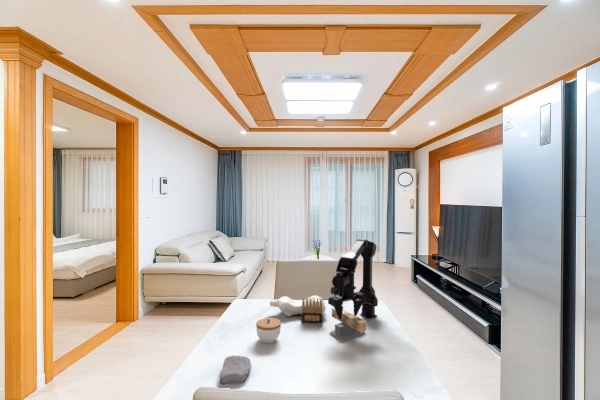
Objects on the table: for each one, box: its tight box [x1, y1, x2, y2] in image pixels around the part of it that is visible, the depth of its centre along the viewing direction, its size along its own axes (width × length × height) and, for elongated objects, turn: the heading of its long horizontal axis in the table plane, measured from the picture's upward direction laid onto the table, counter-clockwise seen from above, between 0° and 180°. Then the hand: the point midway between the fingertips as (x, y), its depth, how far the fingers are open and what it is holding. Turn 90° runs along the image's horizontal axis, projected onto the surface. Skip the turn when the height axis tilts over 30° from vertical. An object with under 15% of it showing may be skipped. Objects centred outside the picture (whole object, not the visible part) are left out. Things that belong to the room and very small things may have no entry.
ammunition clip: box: [300, 298, 324, 325], centre depth 148 cm, size 11×2×12 cm, turn 87°
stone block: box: [219, 355, 252, 385], centre depth 104 cm, size 12×5×10 cm
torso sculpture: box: [269, 294, 326, 317], centre depth 159 cm, size 16×11×30 cm
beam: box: [331, 307, 367, 332], centre depth 135 cm, size 20×4×4 cm, turn 31°
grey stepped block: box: [329, 322, 366, 342], centre depth 135 cm, size 14×8×5 cm, turn 121°
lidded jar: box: [255, 317, 282, 344], centre depth 129 cm, size 11×11×9 cm
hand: (347, 317), depth 135 cm, fingers open, 9 cm apart
